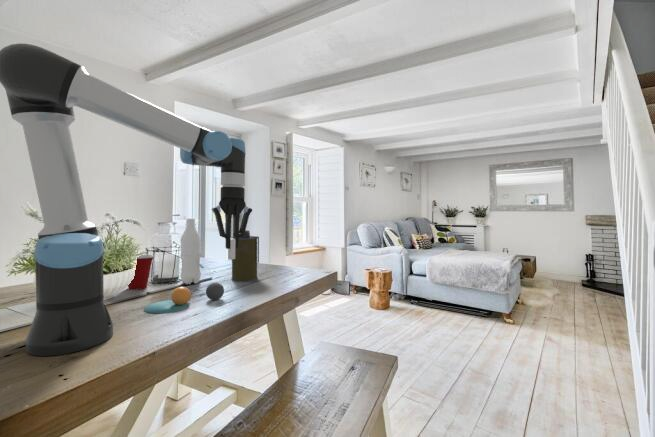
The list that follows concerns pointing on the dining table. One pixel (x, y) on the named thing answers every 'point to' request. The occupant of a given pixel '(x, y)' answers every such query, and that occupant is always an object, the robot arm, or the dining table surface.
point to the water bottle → (190, 253)
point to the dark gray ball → (214, 291)
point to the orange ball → (180, 295)
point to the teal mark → (164, 307)
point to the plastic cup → (141, 272)
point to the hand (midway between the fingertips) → (231, 258)
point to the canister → (245, 259)
